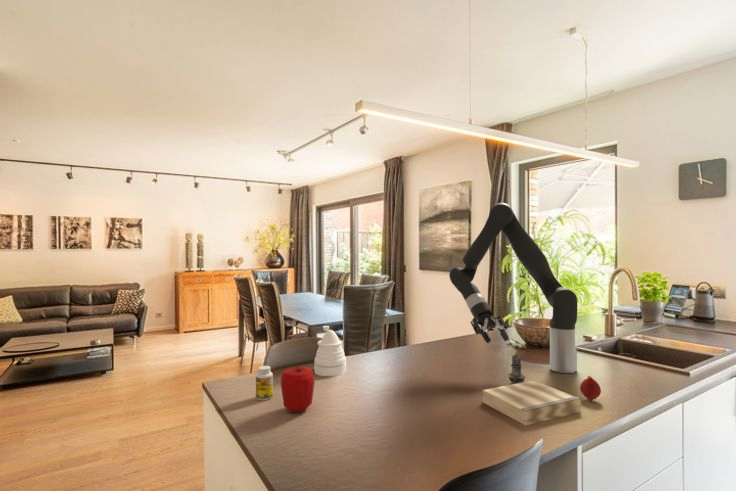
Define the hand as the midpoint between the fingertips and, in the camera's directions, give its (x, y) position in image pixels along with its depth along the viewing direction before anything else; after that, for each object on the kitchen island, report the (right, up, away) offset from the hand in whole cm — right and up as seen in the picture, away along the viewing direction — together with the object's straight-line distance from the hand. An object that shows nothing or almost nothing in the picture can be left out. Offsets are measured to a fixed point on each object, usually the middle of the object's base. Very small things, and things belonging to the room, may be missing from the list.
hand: (498, 340), depth 151 cm
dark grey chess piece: (+4, -14, -9) cm, 17 cm away
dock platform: (+1, -14, -27) cm, 31 cm away
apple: (-72, -15, -28) cm, 78 cm away
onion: (+23, -14, -22) cm, 35 cm away
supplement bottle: (-85, -15, -19) cm, 88 cm away
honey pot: (-65, -15, +9) cm, 67 cm away
